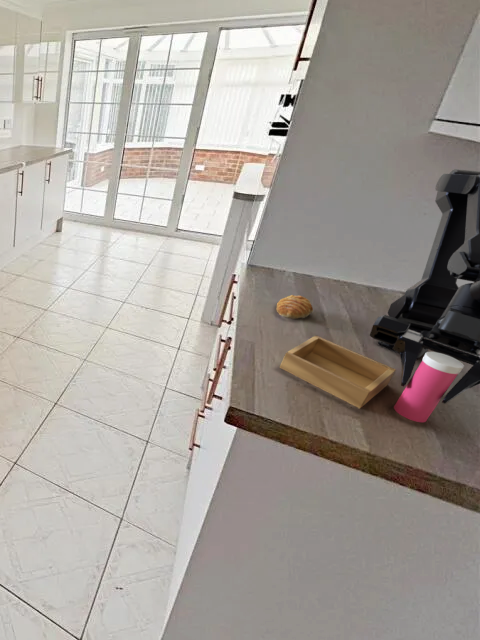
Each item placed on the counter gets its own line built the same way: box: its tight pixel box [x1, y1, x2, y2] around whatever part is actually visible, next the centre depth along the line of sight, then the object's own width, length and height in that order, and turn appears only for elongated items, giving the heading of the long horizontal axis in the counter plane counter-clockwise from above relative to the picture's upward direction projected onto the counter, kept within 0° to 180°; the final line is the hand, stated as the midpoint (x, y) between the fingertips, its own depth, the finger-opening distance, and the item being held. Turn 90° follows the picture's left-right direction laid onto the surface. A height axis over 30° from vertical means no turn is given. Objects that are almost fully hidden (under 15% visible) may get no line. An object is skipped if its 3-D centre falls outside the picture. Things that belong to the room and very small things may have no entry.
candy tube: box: [393, 351, 465, 423], centre depth 67 cm, size 4×4×12 cm
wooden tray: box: [279, 335, 397, 409], centre depth 77 cm, size 13×13×4 cm
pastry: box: [276, 294, 314, 320], centre depth 100 cm, size 9×7×4 cm
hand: (422, 393), depth 66 cm, fingers open, 4 cm apart
